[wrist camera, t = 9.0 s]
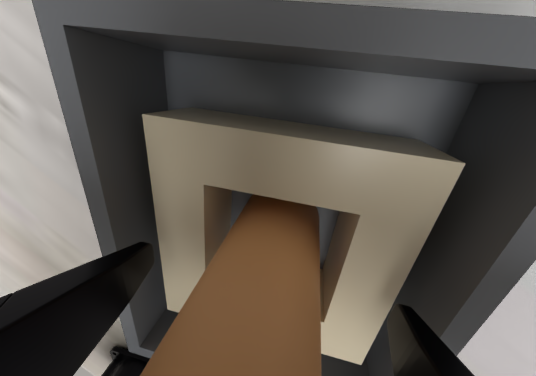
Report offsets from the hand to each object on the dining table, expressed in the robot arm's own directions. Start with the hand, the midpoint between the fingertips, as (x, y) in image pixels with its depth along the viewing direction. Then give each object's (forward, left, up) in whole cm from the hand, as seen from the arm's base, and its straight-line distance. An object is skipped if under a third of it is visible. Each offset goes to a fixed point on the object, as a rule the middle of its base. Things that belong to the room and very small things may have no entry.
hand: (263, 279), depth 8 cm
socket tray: (0, 0, -5) cm, 5 cm away
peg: (0, 0, -4) cm, 4 cm away
